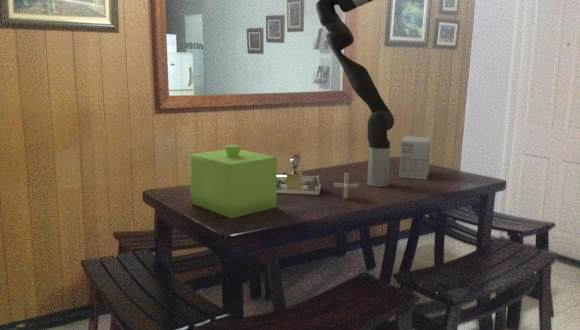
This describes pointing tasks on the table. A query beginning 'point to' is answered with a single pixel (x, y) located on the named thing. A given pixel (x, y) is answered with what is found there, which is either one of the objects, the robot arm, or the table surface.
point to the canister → (233, 181)
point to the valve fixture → (298, 183)
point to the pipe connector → (346, 185)
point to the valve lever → (295, 160)
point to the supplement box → (414, 157)
